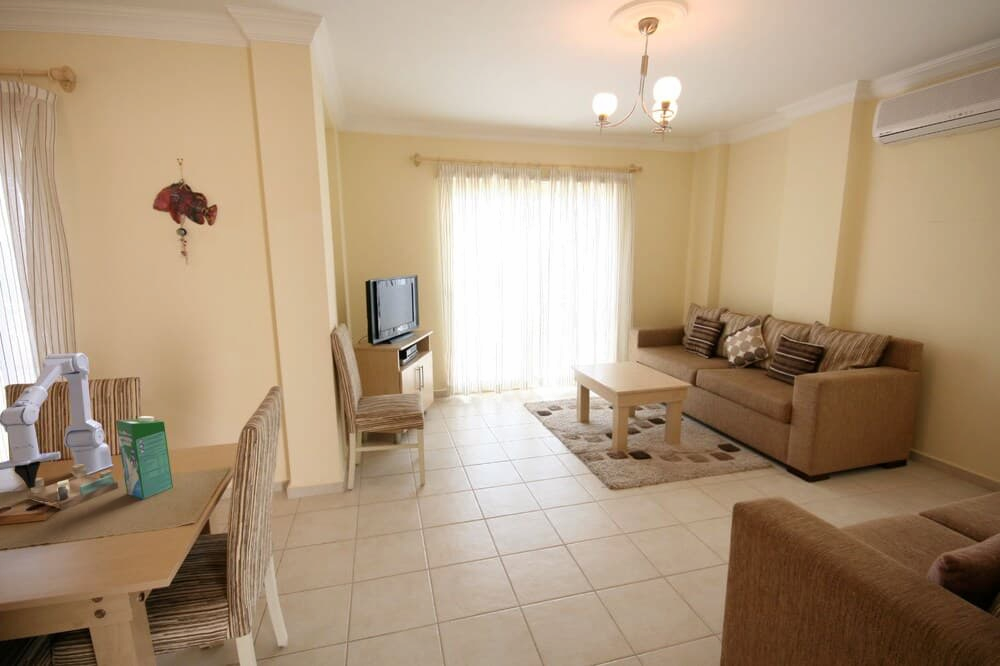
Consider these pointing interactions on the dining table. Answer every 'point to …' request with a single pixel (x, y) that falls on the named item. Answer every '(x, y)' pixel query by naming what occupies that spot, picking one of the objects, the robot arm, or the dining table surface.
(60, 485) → the stool leg
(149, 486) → the milk carton
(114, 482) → the stool seat
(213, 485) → the dining table surface
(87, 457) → the robot arm
